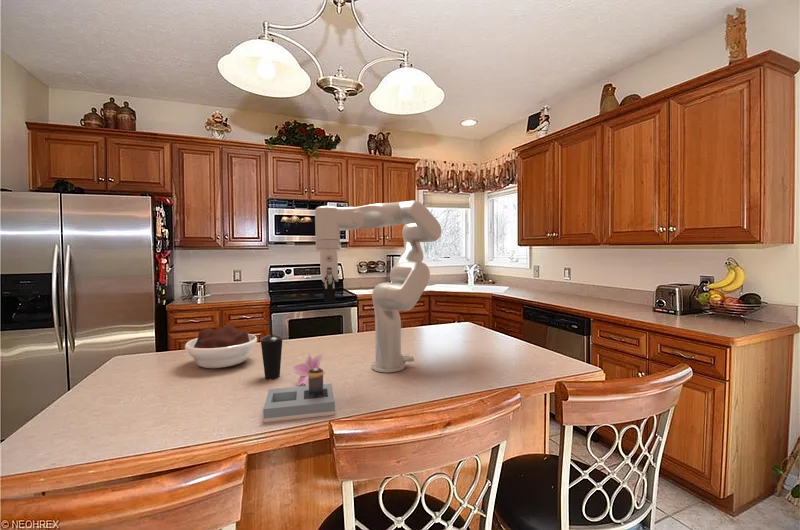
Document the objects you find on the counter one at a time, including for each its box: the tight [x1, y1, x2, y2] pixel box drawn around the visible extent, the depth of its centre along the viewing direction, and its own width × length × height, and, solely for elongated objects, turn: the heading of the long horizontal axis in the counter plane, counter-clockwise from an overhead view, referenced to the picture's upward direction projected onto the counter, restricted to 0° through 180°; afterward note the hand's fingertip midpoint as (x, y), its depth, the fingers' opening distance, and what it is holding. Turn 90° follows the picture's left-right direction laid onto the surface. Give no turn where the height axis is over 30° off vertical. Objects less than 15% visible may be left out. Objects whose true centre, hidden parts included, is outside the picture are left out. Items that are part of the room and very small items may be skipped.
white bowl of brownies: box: [184, 324, 258, 369], centre depth 144 cm, size 25×25×15 cm
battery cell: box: [308, 368, 324, 399], centre depth 106 cm, size 4×4×10 cm
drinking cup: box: [259, 319, 284, 380], centre depth 129 cm, size 8×8×20 cm
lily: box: [292, 353, 326, 387], centre depth 123 cm, size 12×12×10 cm
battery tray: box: [262, 383, 336, 423], centre depth 105 cm, size 18×14×4 cm
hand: (329, 299), depth 119 cm, fingers open, 9 cm apart
